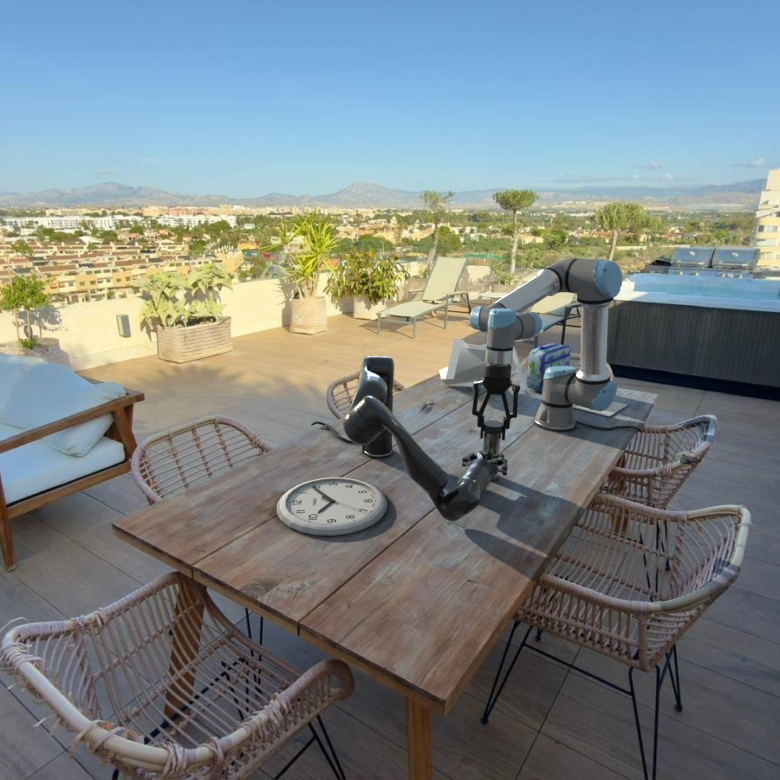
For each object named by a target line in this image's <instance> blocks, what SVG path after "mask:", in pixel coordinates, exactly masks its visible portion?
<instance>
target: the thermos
mask: <svg viewBox="0 0 780 780" xmlns="http://www.w3.org/2000/svg"><path fill="white" fill-rule="evenodd" d="M501 441H502V433H501V434H488V433H485V432H484V431H483V443H482V445H483V446H482V450H483V457H482V459H485V460H491V459H493V458H498V456H499V455H500V453H501ZM498 474H499V472H498V473H497V474H494V476H493V478H492V479H491V481H494V480H497V479H498V476H499V475H498Z"/></svg>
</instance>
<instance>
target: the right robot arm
mask: <svg viewBox="0 0 780 780" xmlns="http://www.w3.org/2000/svg"><path fill="white" fill-rule="evenodd" d="M622 286H623V274H622V269H621V267H620V265H618V263H617V262H615V261H614V260H606V259H600V258H599V259H597V258H578V257H570V258H565V259H561V260H559V261H557V262H554V263H552V264H550V265H548V266H546V267H544V268H543V269H541V270H540V271H538V272H537V273H536V275H535V277H533V278H532V279H530V280H529V281H527V282H525V283H524V284H522V285H520V286H519V287H517V288H516V289H514V290H512V291H511V292H509V293H508V294H506V295H505V296H503V297H501V298H500V299H498V300H496V301H495V302H493V303H491V304H490V305H488V306H484V305H482V306H481V305H480V306H475V307H474V308H473V309H471V311H470V314H469V323H470V324H469V325H470V327H471V328H472V329H474V330H476V331H480V332H482V333H484V332H485V333H487V334H486V344H487V347H486V358H485V361H486V362H487V363H486V364H485V372H484V377H483V380H482V381H479V382H477V381H474V382H472V387H473V390H474V392H473V399H472V407H471V415H472V416H476V417H477V421H476V426H477V428H480V433H479V438H480V440H482V439H483V440H484V431H483V430H484V422H485V415H484V413H485V410H486V408H487V405H488V403H489V401H490V398H491V396H494V395H497V396H501V400H502V405H503V409H504V413H505V416H503V417H502V423H503V432H502V433H501V441H506V432H507V431H506V430H510V427H511V420H512V419H516V418H518V404H519V392H520V390H521V384H520V383H514V382H513V383H512V382H511V378H512V368H513V367H512V364H513V359H512V356H513V346H514V343H515V341H516V342H517V341H520V340H521V341H522V340H526V339H527V340H528V339H531V338H534V337H537V336H538V335H539V334H540V333H541V331H542V328H543V321H542V317H540V315H539V314H538V313H536V312H534V311H533V312H531V311H530V312H529V311H527V310H528V309H530V308H532V307H533V306H534V305H536V304H538V303H539V302H541V301H542V300H544V299H545V298H547V297H553V296H555V295H557V294H560V293H567V294H568V293H569V294H576V302H577V304H578V305H580V309H581V310H580V314H581V315H580V361H579V362H580V363H579V365H580V367H579V369H578V368H577V367H576V366H571V365H569V366H554V367H550V368H547V369H546V371H545V374H544V378H543V380H544V381H543V391H542V392H541V393H542V394H541V402H540V405H539V407H538V410H537V411H536V413H535V417H534V424H535V425H536V426H537V427H539V428H542V429H544V430H549V431H556V432H567V431H572V430H574V429H575V428H576V425H580V426H584V427H587V428H592V429H596V430H604V431H612V430H617V429H632V430H633V429H634V430H636V431H637V432H639V433H640V434H641V433H642V434H643V430H642V429H640V428H639V427H637V426H634V425H615V426H611V427H605V426H597V425H594V424H588V423H585V422H581V421H579V420H578V421H577V420H576V418H575V417H576V416H575V413H574V407H573V405H574V406H582V407H585V408H589V409H590V410H596V411H604V410H606V409H607V408H608V407H609V406H610V405H611V403H612V402H613V401H614V400H615V398H616V395H617V391H618V385H617V382H615V381H613V380H611V372H610V371H609V369H607V357H608V354H607V353H608V333H609V332H608V330H609V329H608V326H609V306H610V304H611V303H613V302H614V301H615V298H616V297H617V296H619V294H620V292H621V287H622ZM482 386H483V387H484V389H485V394H484V397H483V399H482V402H481V404H480V406H479V409H478V403H479V395H480V390H481V388H482ZM510 387H512V391H513V395H512V411H511V412H510V408H509V403H508V399H507V395H506V392H507V391H508V390H509V388H510Z"/></svg>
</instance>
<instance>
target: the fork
mask: <svg viewBox="0 0 780 780" xmlns="http://www.w3.org/2000/svg"><path fill="white" fill-rule="evenodd" d="M434 399H435V396H429V397H428V398H427V399H426V403H425V404H424V405H423V406H422V407H421V409H420V411H423V410H424V409H426V408H427V407H428V405H430V404H433V402H434Z"/></svg>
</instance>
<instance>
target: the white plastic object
mask: <svg viewBox="0 0 780 780" xmlns="http://www.w3.org/2000/svg"><path fill="white" fill-rule="evenodd" d="M486 347H487V343H483V344H479V345H473V346H469V345H468V343H466V342H465V340H464V339H463V338H460V339H458V338H454V340H453V344H452V349H451V353H450V357H449V362H448V366H446V367H444V368H442V369H440V370H439V371H438V372H439V376H440V381H442V383H443V384H444V385H445V386H449V385H458V384H467V383H468V384H469V383H474V381H477V382H479V381H482V380H483V378H484V372H485V364H486V363H487V362H486V361H485V358H486ZM512 361H513V363H514V366H515V369H516V372H517V376H518V380H519V382H520V387H521V389H522V391H523V393H524V395H525V396H526V397H528V396H531V395H530V389H529V388H528V387H527V384H526V381H527V380H526V378H525V375H524V371H523V369H522V368H523V367H522V366H521V362H520V359H519V355H518V352H517V349H516V347H515V346H514V345H513V356H512ZM511 382H512V383H514V381H513V378H512V377H511ZM508 390H509V393H510V394H511V395H512V396H513V391H512V387H510V388H509V389H508Z"/></svg>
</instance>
